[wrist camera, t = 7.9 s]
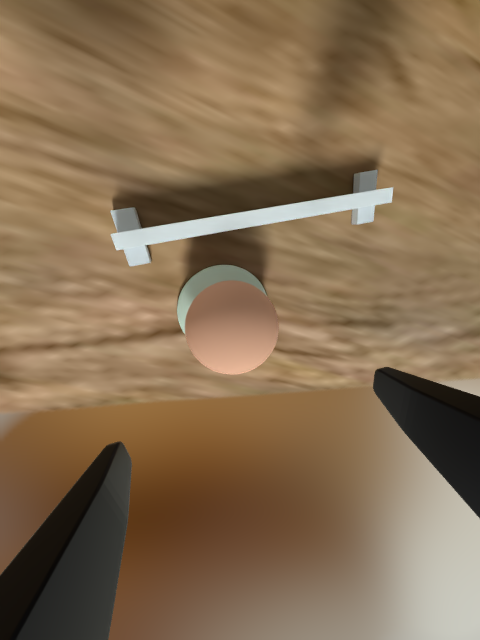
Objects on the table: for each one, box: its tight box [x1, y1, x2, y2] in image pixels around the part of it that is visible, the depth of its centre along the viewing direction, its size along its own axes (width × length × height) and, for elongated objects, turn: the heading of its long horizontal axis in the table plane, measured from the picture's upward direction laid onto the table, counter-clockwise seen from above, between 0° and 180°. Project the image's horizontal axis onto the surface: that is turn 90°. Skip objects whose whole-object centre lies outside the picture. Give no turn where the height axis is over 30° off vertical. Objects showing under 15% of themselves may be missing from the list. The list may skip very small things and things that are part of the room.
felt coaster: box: [177, 265, 267, 333], centre depth 17 cm, size 6×6×1 cm
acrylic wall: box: [111, 170, 393, 266], centre depth 14 cm, size 16×3×2 cm, turn 99°
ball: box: [185, 280, 279, 374], centre depth 14 cm, size 6×6×6 cm
